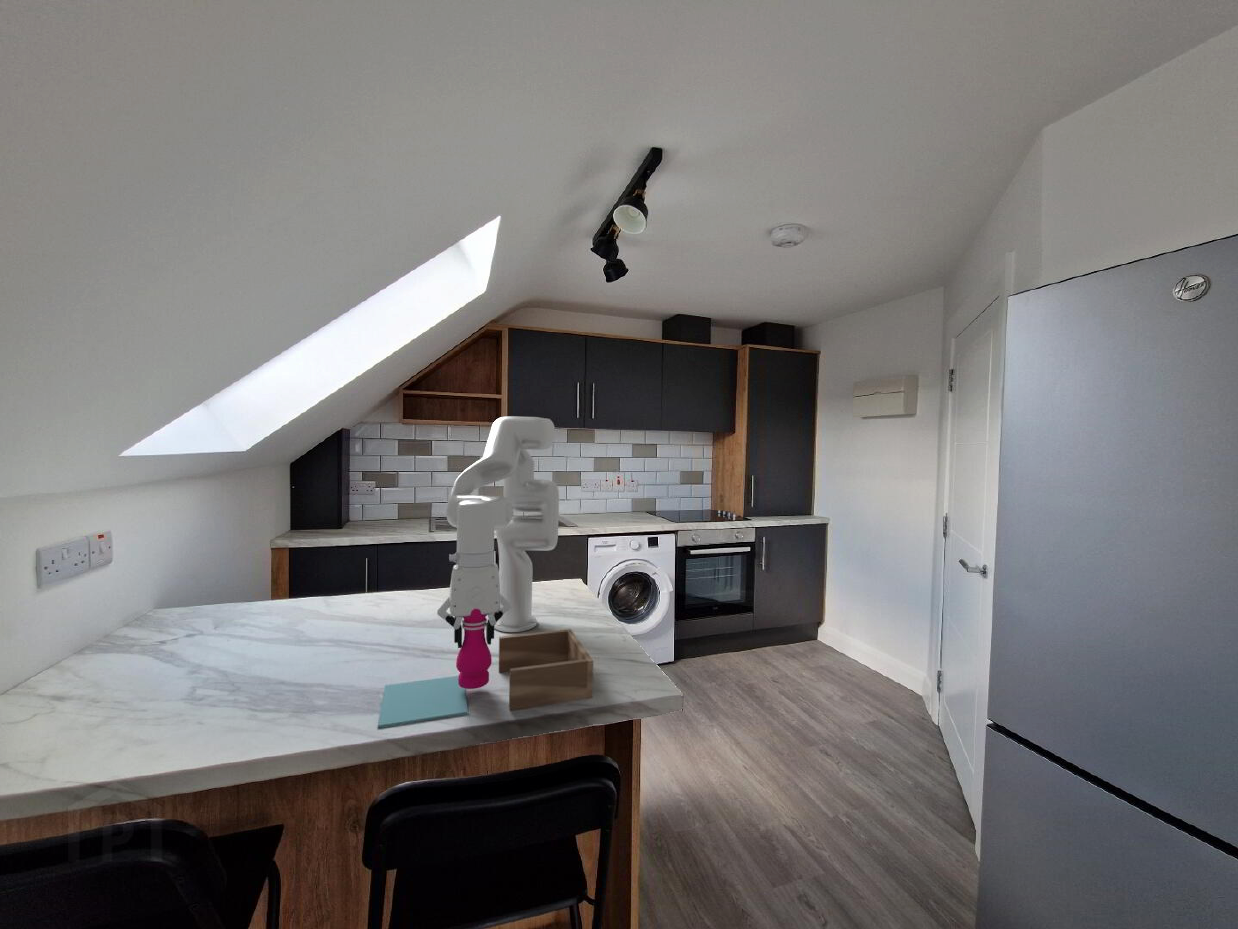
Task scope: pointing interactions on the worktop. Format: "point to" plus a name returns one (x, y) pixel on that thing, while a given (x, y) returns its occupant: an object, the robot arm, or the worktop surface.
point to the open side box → (545, 668)
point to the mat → (422, 701)
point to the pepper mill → (474, 653)
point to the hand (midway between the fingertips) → (474, 643)
